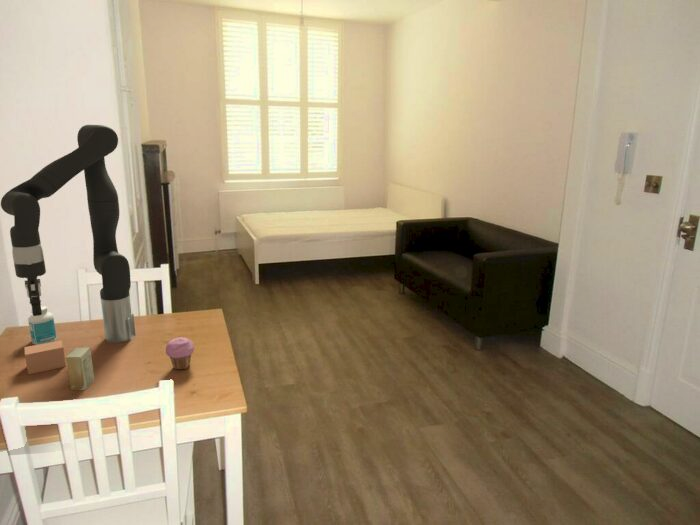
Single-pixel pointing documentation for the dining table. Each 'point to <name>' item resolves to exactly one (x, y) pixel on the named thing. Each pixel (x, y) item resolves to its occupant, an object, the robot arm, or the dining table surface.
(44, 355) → the tan wooden block
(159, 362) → the dining table surface
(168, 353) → the cupcake
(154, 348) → the dining table surface
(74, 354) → the skincare box
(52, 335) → the pill bottle
